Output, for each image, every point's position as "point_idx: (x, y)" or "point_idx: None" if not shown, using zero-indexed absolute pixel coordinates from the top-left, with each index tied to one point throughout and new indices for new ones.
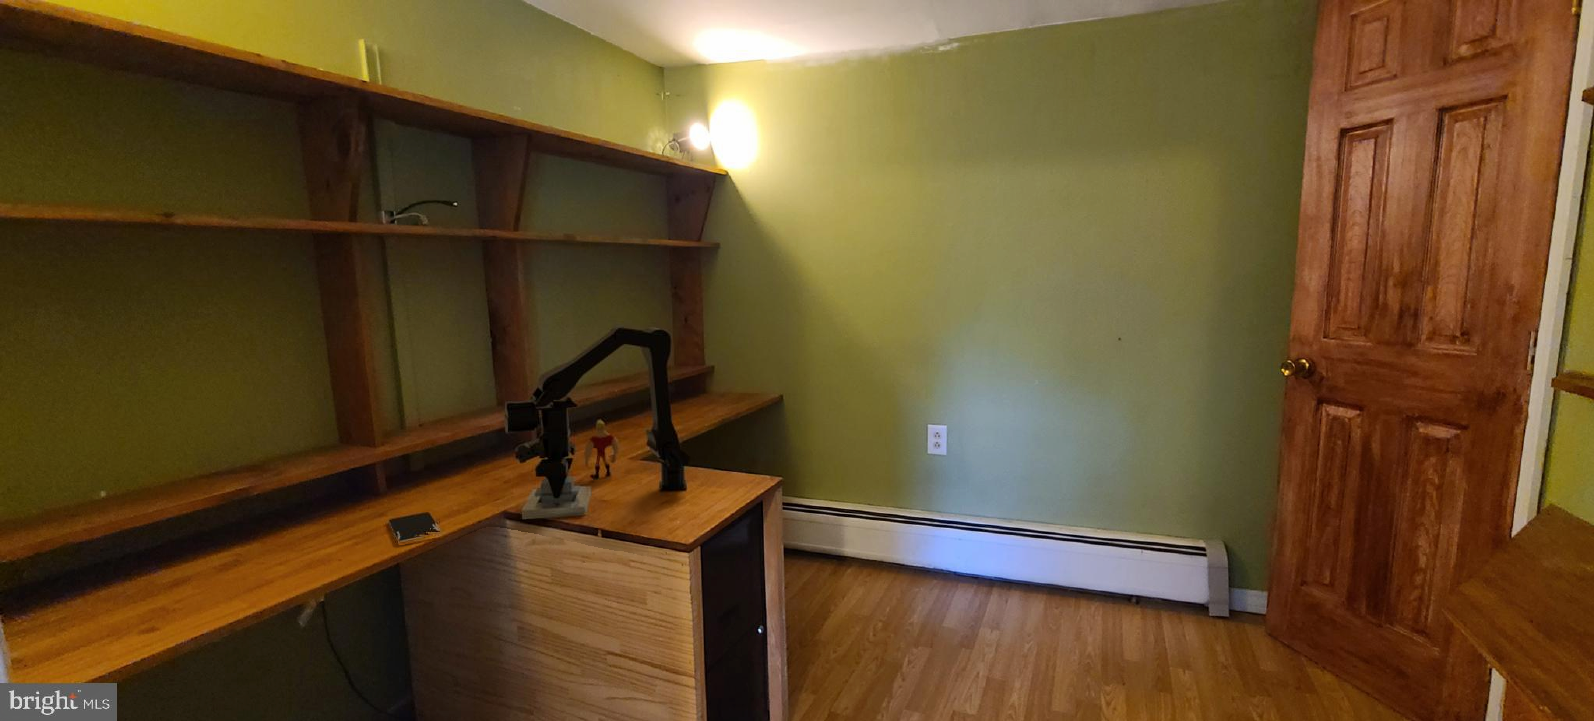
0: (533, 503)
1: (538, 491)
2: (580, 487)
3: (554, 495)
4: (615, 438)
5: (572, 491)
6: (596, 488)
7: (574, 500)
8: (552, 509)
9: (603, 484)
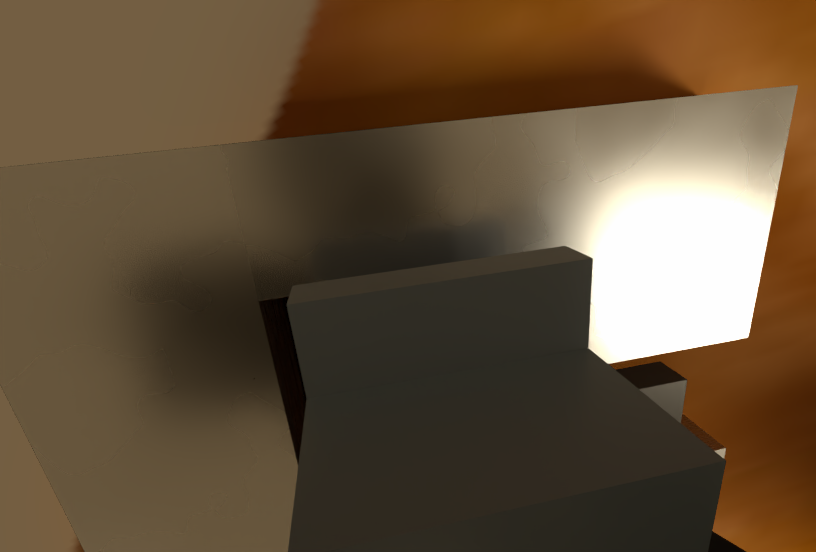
0: (235, 258)
1: (404, 327)
2: None
3: None
4: None
5: None
6: (749, 520)
7: None
8: (78, 512)
9: (809, 532)
